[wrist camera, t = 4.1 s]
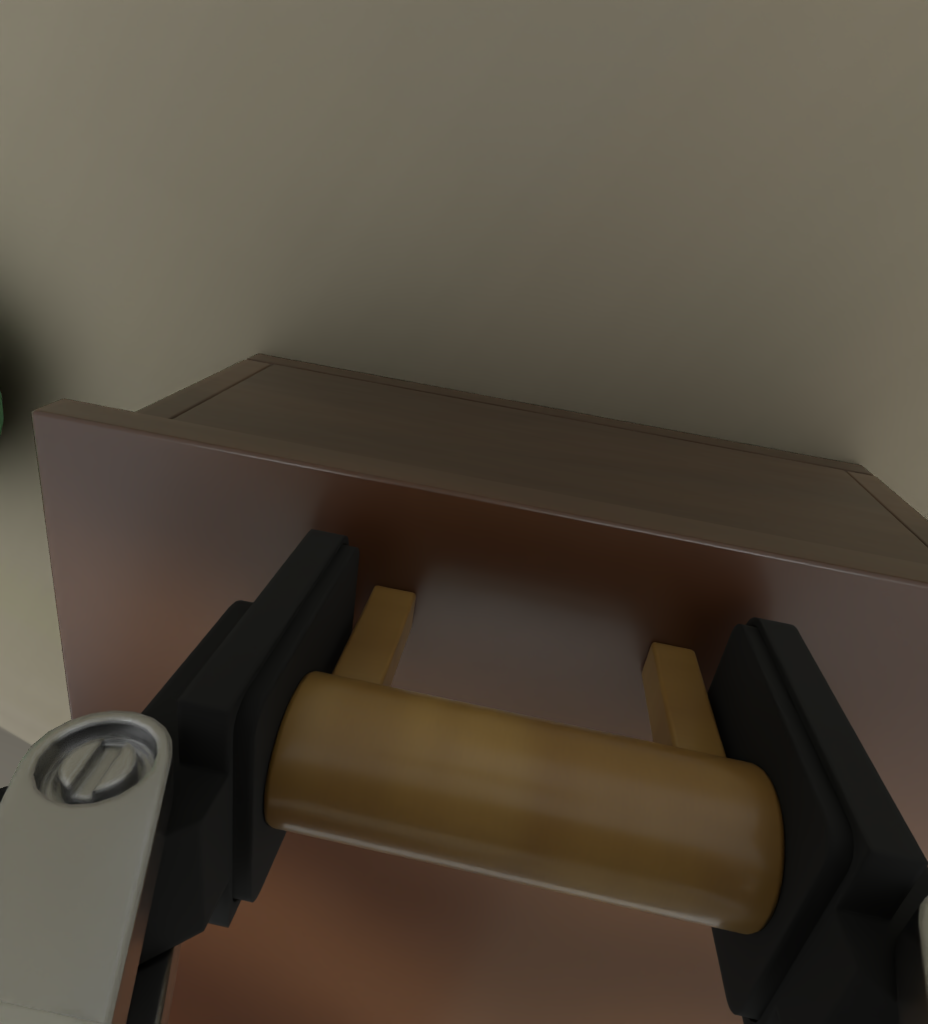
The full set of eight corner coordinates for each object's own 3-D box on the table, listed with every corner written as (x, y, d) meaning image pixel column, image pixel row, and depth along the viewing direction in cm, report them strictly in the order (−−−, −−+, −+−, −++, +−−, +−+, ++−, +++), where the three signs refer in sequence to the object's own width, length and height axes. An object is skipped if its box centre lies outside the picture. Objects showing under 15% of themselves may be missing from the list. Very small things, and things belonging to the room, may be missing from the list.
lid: (63, 396, 11) (-280, 525, 7) (1096, 595, 10) (1525, 903, 6) (129, 1003, 18) (-10, 1260, 14) (730, 1150, 18) (788, 1475, 13)
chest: (256, 352, 18) (69, 440, 11) (864, 464, 18) (1066, 636, 11) (248, 783, 26) (130, 1001, 19) (681, 879, 25) (729, 1147, 18)
